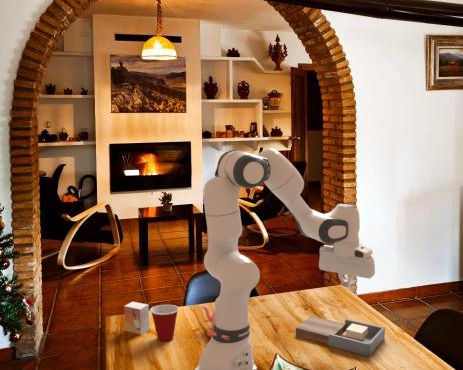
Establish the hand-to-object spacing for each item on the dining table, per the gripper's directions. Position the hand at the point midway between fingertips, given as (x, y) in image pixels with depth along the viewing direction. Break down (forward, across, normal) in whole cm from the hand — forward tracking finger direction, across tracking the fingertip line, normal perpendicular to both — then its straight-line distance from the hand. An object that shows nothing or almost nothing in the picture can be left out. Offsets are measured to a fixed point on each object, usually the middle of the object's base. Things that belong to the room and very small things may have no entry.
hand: (345, 285), depth 180 cm
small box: (+21, -71, -36) cm, 82 cm away
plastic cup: (+21, -57, -35) cm, 70 cm away
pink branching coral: (+21, -43, -17) cm, 51 cm away
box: (+21, +5, 0) cm, 21 cm away
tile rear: (+18, +4, 0) cm, 18 cm away
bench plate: (+21, -10, 0) cm, 23 cm away
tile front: (+20, +3, 0) cm, 21 cm away
